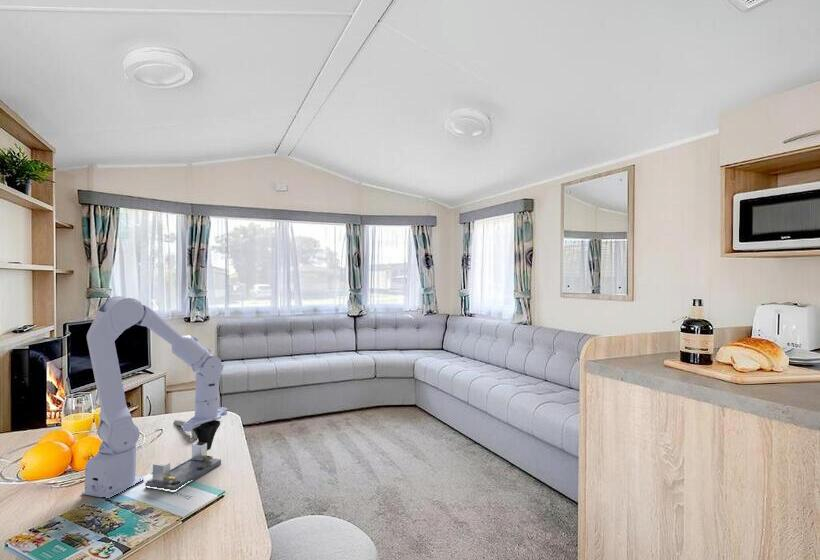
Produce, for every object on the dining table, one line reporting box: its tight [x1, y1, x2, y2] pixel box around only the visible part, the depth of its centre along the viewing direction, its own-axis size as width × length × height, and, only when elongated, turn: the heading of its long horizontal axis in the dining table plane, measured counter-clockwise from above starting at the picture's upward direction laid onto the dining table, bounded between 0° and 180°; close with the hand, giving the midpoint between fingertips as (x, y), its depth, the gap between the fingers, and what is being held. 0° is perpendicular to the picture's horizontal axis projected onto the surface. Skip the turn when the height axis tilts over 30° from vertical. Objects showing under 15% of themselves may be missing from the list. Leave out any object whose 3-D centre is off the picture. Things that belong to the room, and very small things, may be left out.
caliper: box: [173, 419, 198, 440], centre depth 138 cm, size 20×1×6 cm, turn 45°
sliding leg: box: [191, 440, 214, 461], centre depth 114 cm, size 2×5×4 cm, turn 76°
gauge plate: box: [144, 456, 222, 490], centre depth 107 cm, size 16×8×5 cm, turn 166°
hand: (205, 449), depth 116 cm, fingers closed
